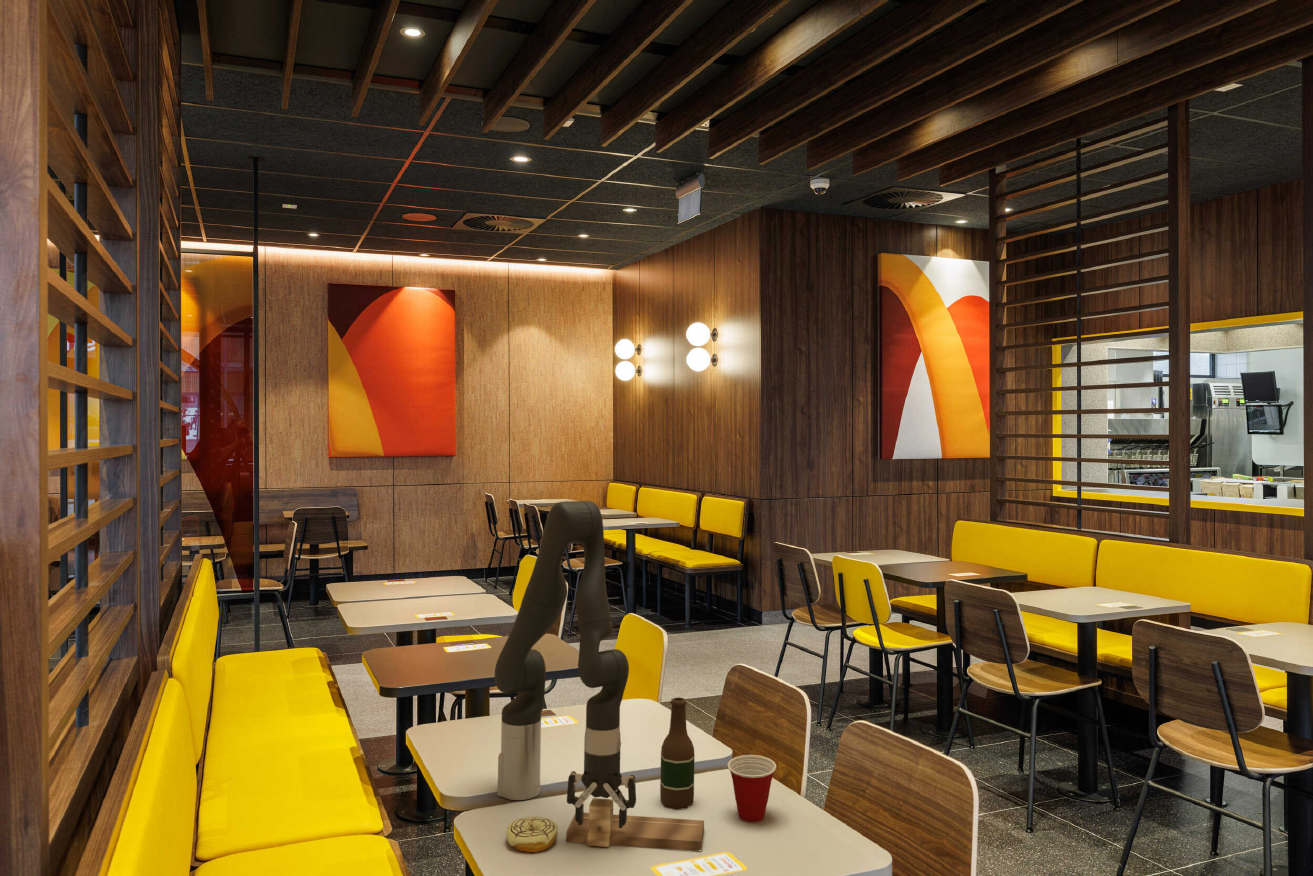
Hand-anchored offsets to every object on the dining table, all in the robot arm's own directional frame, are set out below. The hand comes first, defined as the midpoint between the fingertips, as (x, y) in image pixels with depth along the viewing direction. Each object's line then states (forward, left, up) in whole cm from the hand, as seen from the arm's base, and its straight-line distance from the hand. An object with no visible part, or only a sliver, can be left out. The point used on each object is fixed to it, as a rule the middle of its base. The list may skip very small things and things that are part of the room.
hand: (601, 825), depth 185 cm
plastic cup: (+31, +17, -4) cm, 35 cm away
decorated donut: (-14, -2, -4) cm, 15 cm away
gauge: (0, +2, -3) cm, 3 cm away
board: (+7, +4, -3) cm, 8 cm away
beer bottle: (+14, +22, -4) cm, 26 cm away
